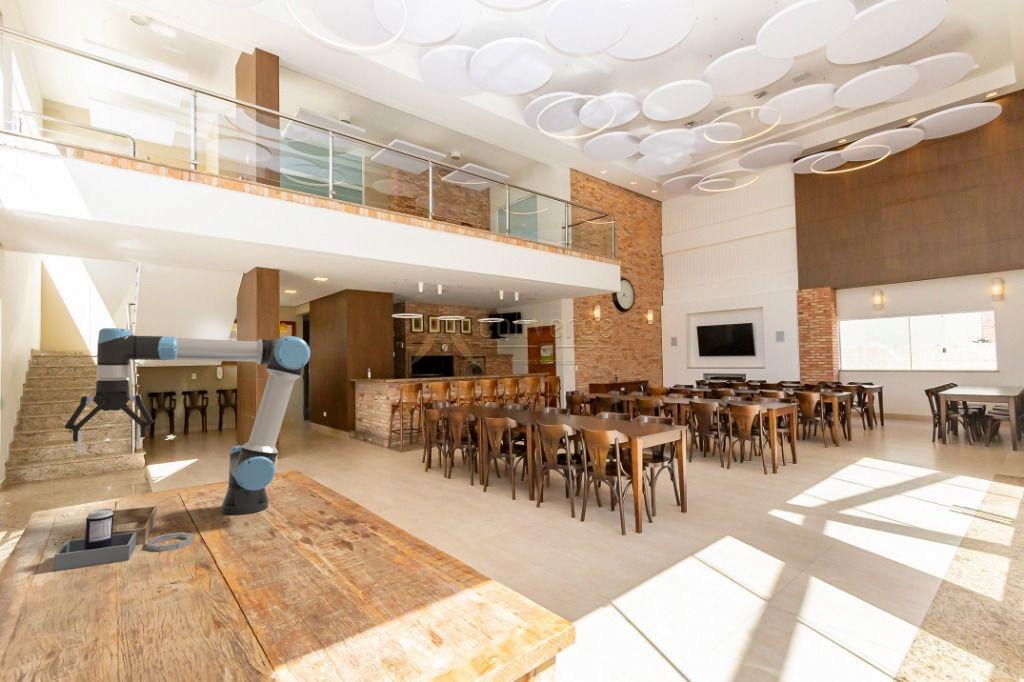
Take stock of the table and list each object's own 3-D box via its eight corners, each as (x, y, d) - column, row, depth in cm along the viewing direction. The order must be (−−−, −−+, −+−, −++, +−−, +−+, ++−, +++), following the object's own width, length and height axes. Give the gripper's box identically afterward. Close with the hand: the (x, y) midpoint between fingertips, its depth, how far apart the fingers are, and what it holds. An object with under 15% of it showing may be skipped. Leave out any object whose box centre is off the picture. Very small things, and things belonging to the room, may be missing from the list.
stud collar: (193, 534, 149) (194, 530, 149) (191, 546, 140) (191, 542, 140) (150, 540, 144) (150, 536, 144) (144, 553, 134) (144, 549, 134)
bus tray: (135, 545, 140) (136, 531, 140) (128, 560, 130) (129, 545, 130) (66, 555, 132) (67, 540, 132) (53, 571, 122) (54, 555, 122)
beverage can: (116, 551, 134) (119, 508, 134) (100, 559, 128) (103, 514, 129) (94, 551, 134) (97, 508, 134) (78, 560, 128) (81, 514, 128)
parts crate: (156, 519, 162) (157, 505, 162) (144, 543, 141) (145, 528, 141) (106, 525, 156) (107, 511, 156) (86, 551, 135) (87, 535, 135)
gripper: (164, 378, 154) (162, 444, 153) (60, 379, 141) (56, 452, 140) (163, 379, 148) (160, 448, 147) (53, 380, 134) (49, 456, 134)
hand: (109, 450), depth 143 cm, fingers open, 13 cm apart
